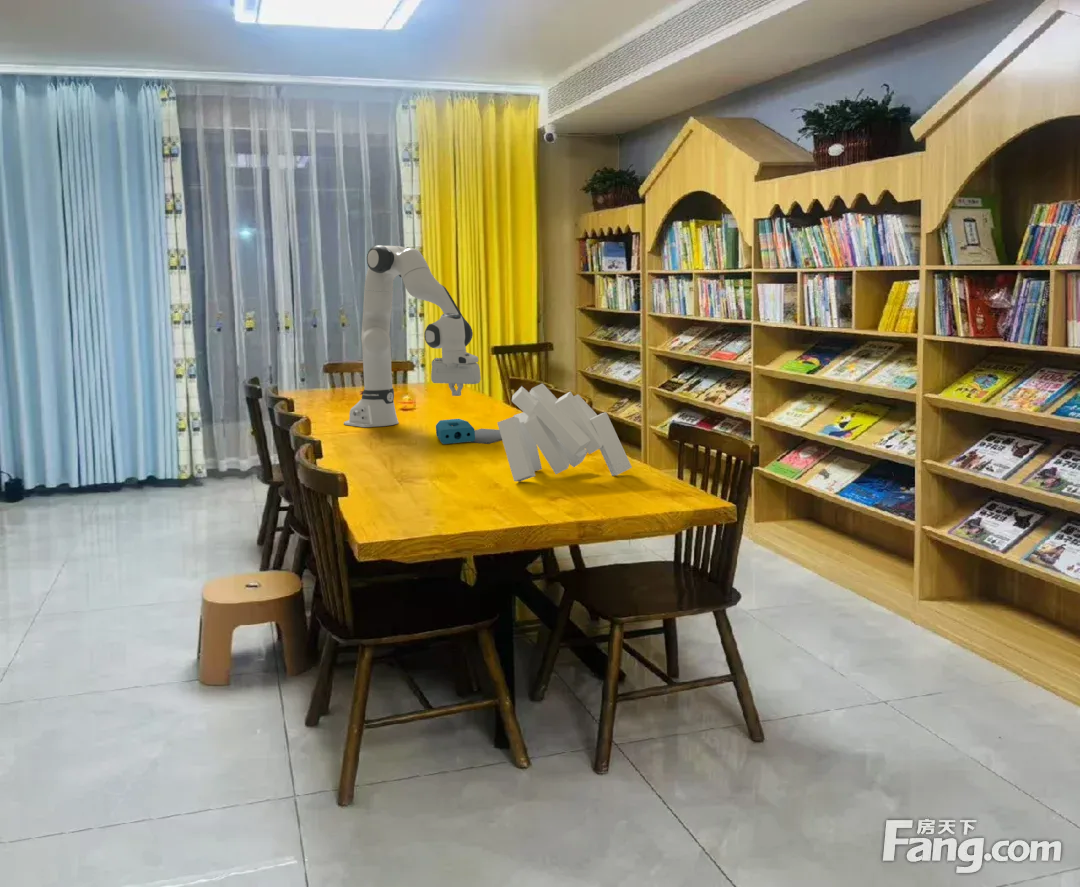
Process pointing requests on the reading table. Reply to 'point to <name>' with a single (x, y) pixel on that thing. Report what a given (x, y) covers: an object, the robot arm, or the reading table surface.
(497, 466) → the reading table surface
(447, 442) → the block
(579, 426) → the pile of blocks
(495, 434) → the mat
